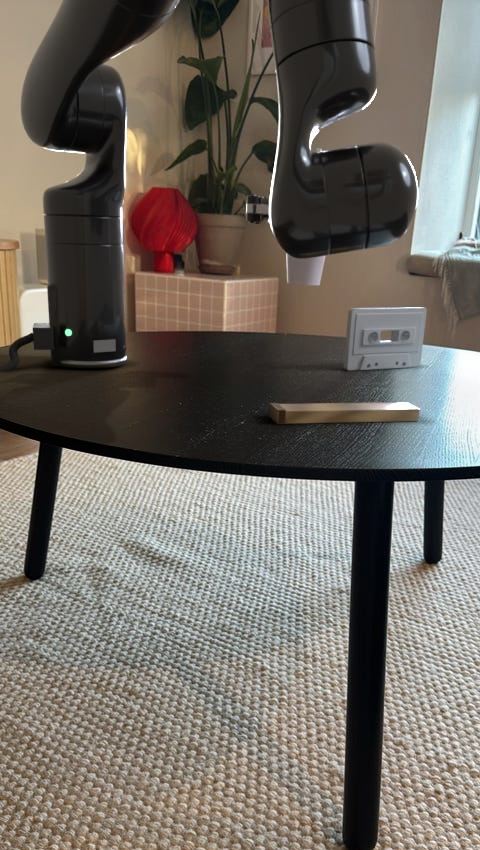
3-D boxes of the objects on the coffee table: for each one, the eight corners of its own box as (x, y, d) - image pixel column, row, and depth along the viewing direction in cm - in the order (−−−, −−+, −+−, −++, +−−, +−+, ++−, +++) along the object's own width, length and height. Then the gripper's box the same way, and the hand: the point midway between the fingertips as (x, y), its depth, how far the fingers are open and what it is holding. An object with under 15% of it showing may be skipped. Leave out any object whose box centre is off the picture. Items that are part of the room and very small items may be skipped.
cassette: (414, 364, 103) (420, 306, 100) (423, 367, 101) (430, 308, 98) (340, 368, 98) (345, 307, 95) (348, 371, 96) (354, 309, 93)
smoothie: (321, 286, 82) (334, 144, 77) (266, 282, 84) (276, 144, 80) (338, 285, 88) (351, 152, 83) (287, 281, 90) (296, 152, 85)
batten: (277, 424, 69) (278, 410, 69) (269, 416, 72) (269, 402, 71) (418, 421, 72) (420, 407, 72) (405, 413, 75) (407, 401, 74)
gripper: (401, 168, 69) (372, 180, 84) (244, 161, 68) (244, 175, 84) (392, 255, 71) (365, 251, 87) (241, 248, 71) (241, 246, 87)
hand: (305, 213), depth 86 cm, fingers closed on smoothie, 6 cm apart
